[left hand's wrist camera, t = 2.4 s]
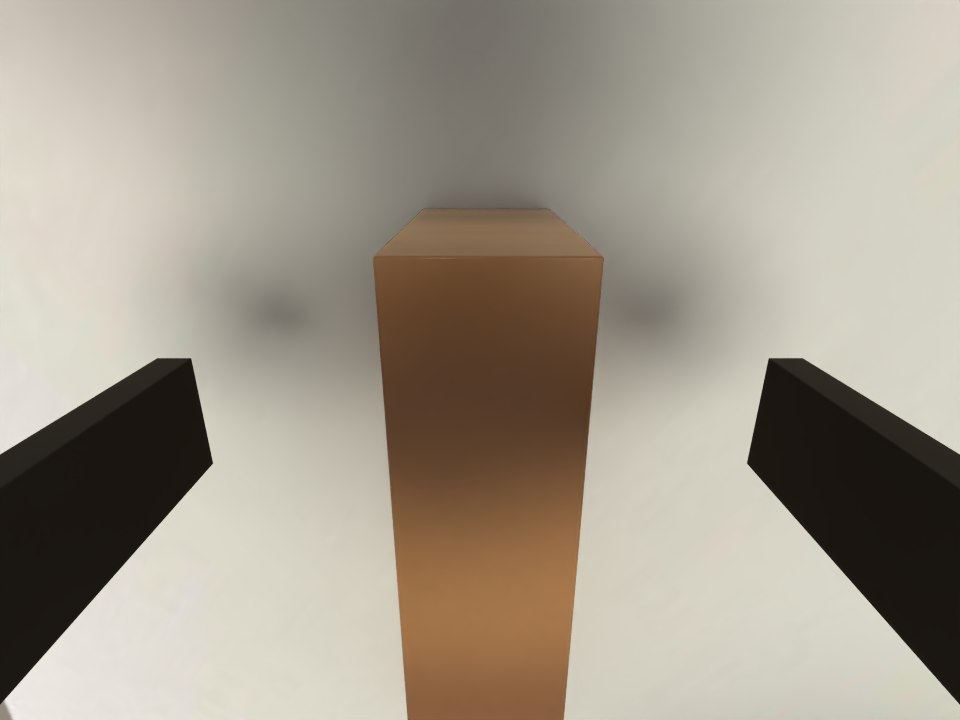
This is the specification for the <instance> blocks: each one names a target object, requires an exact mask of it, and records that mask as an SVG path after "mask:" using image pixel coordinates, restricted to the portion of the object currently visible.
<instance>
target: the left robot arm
mask: <svg viewBox="0 0 960 720" xmlns="http://www.w3.org/2000/svg"><path fill="white" fill-rule="evenodd" d="M212 464H213V461H212V457H211V452H210V447H209V442H208V437H207V433H206V428H205V423H204V418H203V413H202V408H201V404H200V399H199V394H198V389H197V384H196V380H195V375H194V370H193V365H192V360H191V358H157V359H156V360H154V361H152V362H151V363H149V364H147V365H146V366H144V367H142V368H141V369H139V370H138V371H136V372H134V373H133V374H131V375H129V376H128V377H126V378H125V379H123V380H121V381H120V382H118V383H116V384H115V385H113V386H111V387H110V388H108V389H107V390H105V391H103V392H102V393H100V394H98V395H97V396H95V397H94V398H92V399H90V400H89V401H87V402H85V403H84V404H82V405H80V406H79V407H77V408H76V409H74V410H72V411H71V412H69V413H67V414H66V415H64V416H62V417H61V418H59V419H58V420H56V421H54V422H53V423H51V424H49V425H48V426H46V427H45V428H43V429H41V430H40V431H38V432H36V433H35V434H33V435H31V436H30V437H28V438H27V439H25V440H23V441H22V442H20V443H18V444H17V445H15V446H13V447H12V448H10V449H9V450H7V451H5V452H4V453H2V454H0V704H1V703H2V702H3V701H4V700H5V698H6V697H7V696H8V695H9V694H10V693H11V692H12V691H13V689H14V688H15V687H16V686H17V685H18V684H19V683H20V681H21V680H22V679H23V678H24V677H25V676H26V675H27V674H28V672H29V671H30V670H31V669H32V668H33V667H34V666H35V664H36V663H37V662H38V661H39V660H40V659H41V658H42V657H43V655H44V654H45V653H46V652H47V651H48V650H49V649H50V647H51V646H52V645H53V644H54V643H55V642H56V641H57V640H58V638H59V637H60V636H61V635H62V634H63V633H64V632H65V630H66V629H67V628H68V627H69V626H70V625H71V624H72V623H73V621H74V620H75V619H76V618H77V617H78V616H79V615H80V613H81V612H82V611H83V610H84V609H85V608H86V607H87V606H88V604H89V603H90V602H91V601H92V600H93V599H94V598H95V596H96V595H97V594H98V593H99V592H100V591H101V590H102V589H103V587H104V586H105V585H106V584H107V583H108V582H109V581H110V579H111V578H112V577H113V576H114V575H115V574H116V573H117V572H118V570H119V569H120V568H121V567H122V566H123V565H124V564H125V562H126V561H127V560H128V559H129V558H130V557H131V556H132V555H133V553H134V552H135V551H136V550H137V549H138V548H139V547H140V545H141V544H142V543H143V542H144V541H145V540H146V539H147V538H148V536H149V535H150V534H151V533H152V532H153V531H154V530H155V529H156V527H157V526H158V525H159V524H160V523H161V522H162V521H163V519H164V518H165V517H166V516H167V515H168V514H169V513H170V512H171V510H172V509H173V508H174V507H175V506H176V505H177V504H178V502H179V501H180V500H181V499H182V498H183V497H184V496H185V495H186V493H187V492H188V491H189V490H190V489H191V488H192V487H193V485H194V484H195V483H196V482H197V481H198V480H199V479H200V478H201V476H202V475H203V474H204V473H205V472H206V471H207V470H208V468H209V467H210V466H211V465H212ZM747 464H748V465H749V466H750V467H751V468H752V470H753V471H754V472H755V473H756V474H757V475H758V476H759V478H760V479H761V480H762V481H763V482H764V483H765V484H766V485H767V487H768V488H769V489H770V490H771V491H772V492H773V493H774V495H775V496H776V497H777V498H778V499H779V500H780V501H781V502H782V504H783V505H784V506H785V507H786V508H787V509H788V510H789V512H790V513H791V514H792V515H793V516H794V517H795V518H796V519H797V521H798V522H799V523H800V524H801V525H802V526H803V527H804V529H805V530H806V531H807V532H808V533H809V534H810V535H811V536H812V538H813V539H814V540H815V541H816V542H817V543H818V544H819V546H820V547H821V548H822V549H823V550H824V551H825V552H826V553H827V555H828V556H829V557H830V558H831V559H832V560H833V561H834V562H835V564H836V565H837V566H838V567H839V568H840V569H841V570H842V572H843V573H844V574H845V575H846V576H847V577H848V578H849V579H850V581H851V582H852V583H853V584H854V585H855V586H856V587H857V589H858V590H859V591H860V592H861V593H862V594H863V595H864V596H865V598H866V599H867V600H868V601H869V602H870V603H871V604H872V606H873V607H874V608H875V609H876V610H877V611H878V612H879V613H880V615H881V616H882V617H883V618H884V619H885V620H886V621H887V623H888V624H889V625H890V626H891V627H892V628H893V629H894V630H895V632H896V633H897V634H898V635H899V636H900V637H901V638H902V640H903V641H904V642H905V643H906V644H907V645H908V646H909V647H910V649H911V650H912V651H913V652H914V653H915V654H916V655H917V657H918V658H919V659H920V660H921V661H922V662H923V663H924V664H925V666H926V667H927V668H928V669H929V670H930V671H931V672H932V674H933V675H934V676H935V677H936V678H937V679H938V680H939V681H940V683H941V684H942V685H943V686H944V687H945V688H946V689H947V691H948V692H949V693H950V694H951V695H952V696H953V697H954V698H955V700H956V701H957V702H958V703H959V704H960V454H958V453H956V452H955V451H953V450H951V449H950V448H948V447H947V446H945V445H943V444H942V443H940V442H938V441H937V440H935V439H933V438H932V437H930V436H929V435H927V434H925V433H924V432H922V431H920V430H919V429H917V428H915V427H914V426H912V425H911V424H909V423H907V422H906V421H904V420H902V419H901V418H899V417H898V416H896V415H894V414H893V413H891V412H889V411H888V410H886V409H884V408H883V407H881V406H880V405H878V404H876V403H875V402H873V401H871V400H870V399H868V398H866V397H865V396H863V395H862V394H860V393H858V392H857V391H855V390H853V389H852V388H850V387H849V386H847V385H845V384H844V383H842V382H840V381H839V380H837V379H835V378H834V377H832V376H831V375H829V374H827V373H826V372H824V371H822V370H821V369H819V368H818V367H816V366H814V365H813V364H811V363H809V362H808V361H806V360H804V359H803V358H769V360H768V365H767V370H766V375H765V380H764V384H763V389H762V394H761V399H760V404H759V408H758V413H757V418H756V423H755V428H754V433H753V437H752V442H751V447H750V452H749V457H748V461H747Z"/></svg>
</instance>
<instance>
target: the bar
mask: <svg viewBox="0 0 960 720" xmlns="http://www.w3.org/2000/svg"><path fill="white" fill-rule="evenodd" d="M603 261H604V258H603V256H602V255H601V254H600V253H598V252H597V251H596V250H595V249H594V248H593V247H592V246H591V245H589V244H588V243H587V242H586V241H585V240H584V239H583V238H582V237H580V236H579V235H578V234H577V233H576V232H575V231H574V230H573V229H571V228H570V227H569V226H568V225H567V224H566V223H565V222H564V221H562V220H561V219H560V218H559V217H558V216H557V215H556V214H555V213H553V212H552V211H551V210H550V209H423V210H422V211H421V212H420V213H419V214H418V215H417V216H416V217H414V218H413V219H412V220H411V221H410V222H409V223H408V224H407V225H406V226H405V227H404V228H403V229H402V230H401V231H400V232H399V233H398V234H397V235H396V236H395V237H394V238H392V239H391V240H390V241H389V242H388V243H387V244H386V245H385V246H384V247H383V248H382V249H381V250H380V251H379V252H378V253H377V254H376V255H375V256H374V257H373V263H374V277H375V290H376V303H377V316H378V330H379V343H380V356H381V370H382V383H383V396H384V410H385V423H386V436H387V450H388V463H389V476H390V490H391V503H392V516H393V530H394V543H395V556H396V570H397V583H398V596H399V610H400V623H401V636H402V650H403V663H404V676H405V690H406V703H407V716H408V720H564V710H565V699H566V687H567V676H568V664H569V653H570V641H571V630H572V618H573V607H574V595H575V584H576V572H577V561H578V549H579V537H580V526H581V514H582V503H583V491H584V480H585V468H586V457H587V445H588V434H589V422H590V411H591V399H592V388H593V376H594V365H595V353H596V342H597V330H598V318H599V307H600V295H601V284H602V272H603Z"/></svg>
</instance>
